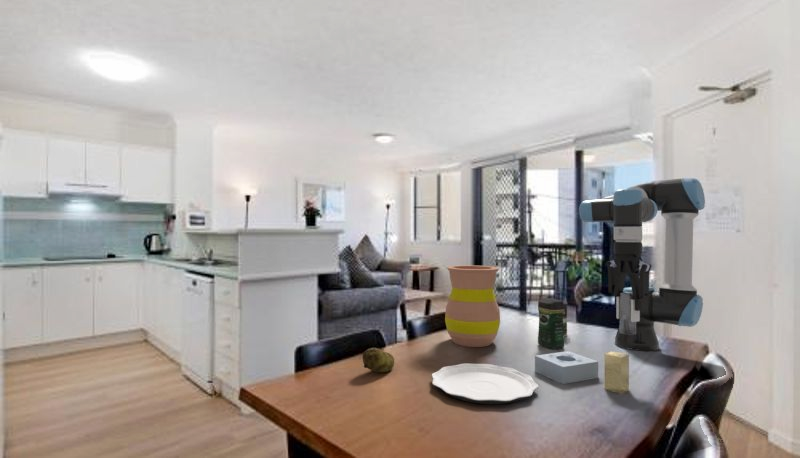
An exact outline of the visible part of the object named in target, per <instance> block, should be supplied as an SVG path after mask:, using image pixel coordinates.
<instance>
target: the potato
mask: <svg viewBox="0 0 800 458" xmlns="http://www.w3.org/2000/svg"><path fill="white" fill-rule="evenodd" d="M362 363H363V367H364V369H368V370H369V371H372V372H374V371H375V372H377V373H382V374H383V373H387V372H389V371H391V370H392V369H393V368H394V365H395V358H394V356H393V354H391V353H390V352H387V351H386V352H385V351H384V350H382V349H380V348H379V347H378V348H377V347H370V348H367V349H366V350H365V351H363V353H362Z"/></svg>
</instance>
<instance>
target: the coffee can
mask: <svg viewBox="0 0 800 458" xmlns="http://www.w3.org/2000/svg"><path fill="white" fill-rule="evenodd" d="M561 301H562V302H563V303H564V313H563V332H564V337H567V336H568V304H569V303H568V302H567V301H563V300H561Z"/></svg>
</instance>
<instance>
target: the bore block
mask: <svg viewBox="0 0 800 458" xmlns="http://www.w3.org/2000/svg"><path fill="white" fill-rule="evenodd" d="M534 372H535V373H538V374H540V375H542V376H544V377H546V378H549V379H551V380H553V381H556V382H557V383H559V384H562V385H565V384H571V383H577V382H582V381H588V380H593V379H594V380H595V379H599V361H598V360H595V359H592V358H589V357H587V356H584V355H580V354H578V353H575V352H572V351H569V350H566V351H560V352H558V351H557V352H551V353H545V354H539V355H537V354H536V355H534Z"/></svg>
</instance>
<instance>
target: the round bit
mask: <svg viewBox="0 0 800 458" xmlns="http://www.w3.org/2000/svg"><path fill="white" fill-rule="evenodd" d="M632 298H633V293H632V292H620V319H619V326H620V333H621V334H625V335H636V322H631V299H632Z"/></svg>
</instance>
